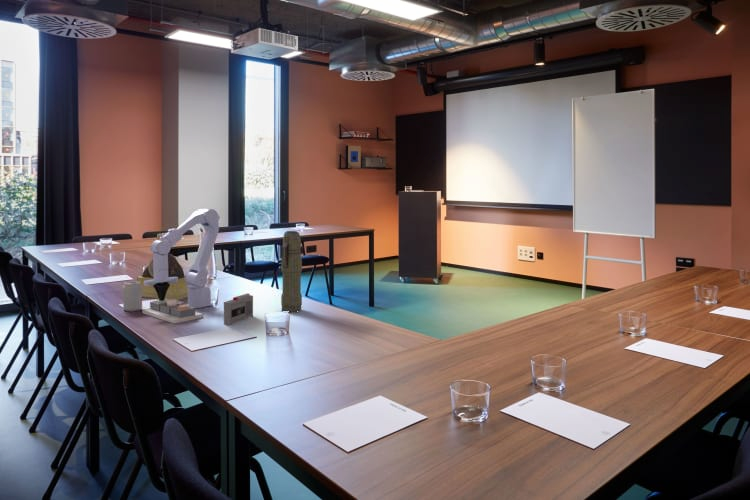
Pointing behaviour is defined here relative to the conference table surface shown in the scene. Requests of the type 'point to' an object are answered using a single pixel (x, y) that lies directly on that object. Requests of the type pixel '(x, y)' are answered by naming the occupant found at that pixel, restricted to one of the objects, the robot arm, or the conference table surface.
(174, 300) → the cream button
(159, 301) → the sage button
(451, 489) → the conference table surface
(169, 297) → the decorative clock
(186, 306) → the terracotta button
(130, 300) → the can
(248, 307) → the cassette player
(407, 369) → the conference table surface
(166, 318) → the panel
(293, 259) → the thermos
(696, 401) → the conference table surface
